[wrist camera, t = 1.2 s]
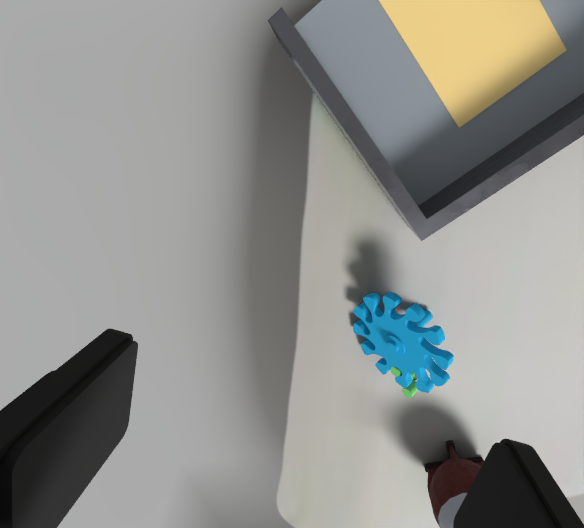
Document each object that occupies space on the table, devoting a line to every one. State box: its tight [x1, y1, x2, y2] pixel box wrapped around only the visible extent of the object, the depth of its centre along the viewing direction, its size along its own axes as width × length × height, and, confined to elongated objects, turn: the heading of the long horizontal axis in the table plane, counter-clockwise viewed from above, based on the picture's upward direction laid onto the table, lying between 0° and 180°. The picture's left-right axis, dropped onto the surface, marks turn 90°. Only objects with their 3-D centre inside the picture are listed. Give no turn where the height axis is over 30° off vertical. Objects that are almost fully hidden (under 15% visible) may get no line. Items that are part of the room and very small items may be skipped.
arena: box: [268, 0, 584, 241], centre depth 27 cm, size 19×19×6 cm
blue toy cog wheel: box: [353, 291, 454, 398], centre depth 35 cm, size 11×6×10 cm
